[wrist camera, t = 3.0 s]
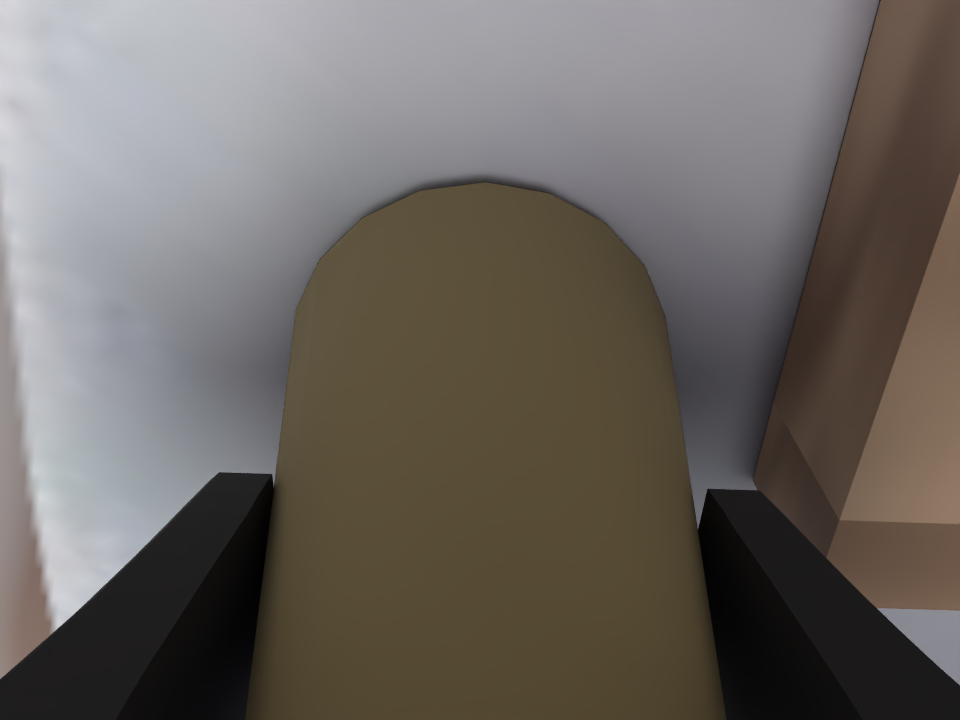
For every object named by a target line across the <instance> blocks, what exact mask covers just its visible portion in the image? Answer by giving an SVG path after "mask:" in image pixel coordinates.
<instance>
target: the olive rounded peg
mask: <svg viewBox="0 0 960 720" xmlns="http://www.w3.org/2000/svg"><path fill="white" fill-rule="evenodd" d="M245 720H726V713H725V707H724V700H723V694H722V687H721V680H720V674H719V667H718V660H717V654H716V647H715V641H714V634H713V627H712V621H711V614H710V608H709V601H708V594H707V588H706V581H705V575H704V568H703V561H702V555H701V548H700V541H699V535H698V528H697V522H696V515H695V508H694V502H693V495H692V489H691V482H690V475H689V469H688V462H687V456H686V449H685V442H684V436H683V429H682V422H681V416H680V409H679V403H678V396H677V389H676V383H675V376H674V370H673V363H672V356H671V350H670V343H669V336H668V330H667V323H666V317H665V314H664V311H663V309H662V306H661V304H660V302H659V299H658V297H657V294H656V292H655V289H654V287H653V284H652V282H651V279H650V277H649V274H648V272H647V269H646V267H645V265H644V264H643V263H642V262H641V261H640V260H639V259H638V258H637V257H636V256H635V255H634V253H633V252H632V251H631V250H630V249H629V248H628V247H627V246H626V245H625V244H624V243H623V242H622V240H621V239H620V238H619V237H618V236H617V235H616V234H615V233H614V232H613V231H612V230H611V229H610V227H609V226H608V225H607V224H606V223H604V222H602V221H601V220H599V219H597V218H595V217H593V216H591V215H589V214H587V213H586V212H584V211H582V210H580V209H578V208H576V207H574V206H572V205H571V204H569V203H567V202H565V201H563V200H561V199H559V198H557V197H556V196H554V195H552V194H549V193H544V192H538V191H532V190H527V189H521V188H515V187H510V186H504V185H498V184H493V183H487V182H483V183H476V184H468V185H460V186H453V187H445V188H437V189H430V190H422V191H418V192H416V193H414V194H412V195H410V196H408V197H406V198H403V199H401V200H399V201H397V202H395V203H393V204H391V205H389V206H387V207H384V208H382V209H380V210H378V211H376V212H374V213H372V214H370V215H367V216H365V217H363V218H362V219H361V220H360V221H359V222H358V223H357V224H356V225H355V226H354V227H352V228H351V229H350V230H349V231H348V232H347V233H346V234H345V235H344V236H343V237H342V238H341V239H340V240H339V241H338V242H337V243H336V244H335V245H334V246H333V247H332V248H331V249H330V250H329V251H328V252H327V253H326V254H325V255H324V256H323V257H322V258H321V259H320V260H319V262H318V264H317V266H316V268H315V270H314V272H313V275H312V277H311V279H310V281H309V283H308V285H307V287H306V289H305V291H304V293H303V295H302V298H301V300H300V302H299V304H298V306H297V308H296V314H295V322H294V330H293V338H292V346H291V354H290V362H289V370H288V378H287V386H286V394H285V402H284V410H283V419H282V427H281V435H280V443H279V451H278V459H277V467H276V475H275V483H274V491H273V499H272V507H271V515H270V523H269V531H268V539H267V547H266V555H265V563H264V571H263V579H262V587H261V595H260V604H259V612H258V620H257V628H256V636H255V644H254V652H253V660H252V668H251V676H250V684H249V692H248V700H247V708H246V716H245Z"/></svg>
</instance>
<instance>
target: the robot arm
mask: <svg viewBox="0 0 960 720" xmlns="http://www.w3.org/2000/svg"><path fill="white" fill-rule="evenodd" d="M273 491H274V486H273V478H272V474H252V473H222V472H219V473H218V474H217V475H216V476H215V477H213V478H212V479H211V480H210V481H209V482H208V483H207V484H206V485H205V486H204V487H203V488H202V489H201V490H200V491H199V492H198V493H197V494H196V495H195V496H194V497H193V498H192V499H191V500H190V501H189V502H188V503H187V504H186V505H185V506H184V507H183V508H182V509H181V510H180V511H179V512H178V513H177V514H176V515H175V516H174V517H173V518H172V519H171V521H170V522H169V523H168V524H167V525H166V526H165V527H164V528H163V529H162V530H161V531H160V532H159V533H158V534H157V535H156V536H155V537H154V538H153V539H152V540H151V541H150V542H149V543H148V544H147V545H146V546H145V547H144V548H143V549H142V550H141V551H140V552H139V553H138V554H137V555H136V556H135V557H134V558H133V559H132V560H131V561H129V562H128V563H127V564H126V565H125V566H124V567H123V568H122V569H121V570H120V571H119V572H118V573H117V574H116V575H115V576H114V577H113V578H112V579H111V580H110V581H109V582H108V583H107V584H105V585H104V586H103V587H102V588H101V589H100V590H99V591H98V592H97V593H96V594H95V595H94V596H93V597H92V598H91V599H90V600H89V601H88V602H87V603H86V604H85V605H83V606H82V607H81V608H80V609H79V610H78V611H77V612H76V613H75V614H74V615H73V616H72V617H70V618H69V619H68V620H67V621H66V622H65V623H64V624H63V625H61V626H60V627H59V628H58V629H57V630H56V631H55V632H54V633H52V634H51V635H50V636H49V637H48V638H47V639H46V640H45V641H43V642H42V643H41V644H40V645H39V646H38V647H36V648H35V649H34V650H33V651H32V652H31V653H30V654H28V655H27V656H26V657H25V658H24V659H23V660H22V661H21V662H19V663H18V664H17V665H16V666H15V667H14V668H13V669H11V670H10V671H9V672H8V673H7V674H6V675H5V676H3V677H2V678H1V679H0V720H245V716H246V708H247V700H248V692H249V684H250V676H251V668H252V660H253V652H254V644H255V636H256V628H257V620H258V612H259V604H260V595H261V587H262V579H263V571H264V563H265V555H266V547H267V539H268V531H269V523H270V515H271V507H272V499H273ZM698 535H699V541H700V548H701V555H702V561H703V568H704V575H705V581H706V588H707V594H708V601H709V608H710V614H711V621H712V627H713V634H714V641H715V647H716V654H717V660H718V667H719V674H720V680H721V687H722V694H723V700H724V707H725V713H726V720H960V685H959V684H957V683H956V682H955V681H954V680H953V679H952V678H951V677H950V676H948V675H947V674H946V673H945V672H944V671H943V670H942V669H940V668H939V667H938V666H937V665H936V664H935V663H934V662H933V661H932V660H931V659H930V658H928V657H927V656H926V655H925V654H924V653H923V652H922V651H921V650H920V649H919V648H918V647H917V646H916V645H914V644H913V643H912V642H911V641H910V640H909V639H908V638H907V637H906V636H905V635H904V634H903V633H902V632H901V631H900V630H899V629H898V628H896V627H895V626H894V625H893V624H892V623H891V622H890V621H889V620H888V619H887V618H886V617H885V616H884V615H883V614H882V613H881V612H880V611H879V610H878V609H877V608H876V607H875V606H874V605H873V604H872V603H871V602H870V601H869V600H868V599H867V598H866V597H865V596H864V595H863V594H862V593H861V592H860V591H859V590H858V589H857V588H856V587H855V586H854V585H853V584H852V583H851V582H850V581H849V580H848V579H847V578H845V577H844V575H843V574H842V573H841V572H840V571H839V570H838V569H837V568H836V567H835V566H834V565H833V564H832V563H831V562H830V561H829V560H828V559H827V558H826V557H825V556H824V555H823V554H822V553H821V552H820V551H819V550H818V549H817V548H816V547H815V546H814V545H813V544H812V543H811V542H810V541H809V540H808V539H807V538H806V537H805V536H804V535H803V534H802V533H801V532H800V531H799V529H798V528H797V527H796V526H795V525H794V524H793V523H792V522H791V521H790V520H789V519H788V518H787V517H786V516H785V515H784V514H783V513H782V512H781V511H780V510H779V509H778V508H777V507H776V506H775V505H774V504H773V503H772V502H771V501H770V500H769V499H768V498H767V497H766V496H765V495H764V494H763V493H762V492H761V491H755V490H725V489H707V494H706V498H705V502H704V507H703V511H702V515H701V520H700V524H699V528H698Z"/></svg>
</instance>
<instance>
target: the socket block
mask: <svg viewBox="0 0 960 720" xmlns="http://www.w3.org/2000/svg"><path fill="white" fill-rule="evenodd" d="M753 482H754V484H755V486H756V488H757V491H761V492H762V493H763V494H764V495H765V496H766V497H767V498H768V499H769V500H770V501H771V502H772V503H773V504H774V505H775V506H776V507H777V508H778V509H779V510H780V511H781V512H782V513H783V514H784V515H785V516H786V517H787V518H788V519H789V520H790V521H791V522H792V523H793V524H794V525H795V526H796V527H797V528H798V529H799V531H800V532H801V533H802V534H803V535H804V536H805V537H806V538H807V539H808V540H809V541H810V542H811V543H812V544H813V545H814V546H815V547H816V548H817V549H818V550H819V551H820V552H821V553H822V554H823V555H824V556H825V557H826V558H827V559H828V560H829V561H830V562H831V563H832V564H833V565H834V566H835V567H836V568H837V569H838V570H839V571H840V572H841V573H842V574H843V575H844V577H845V578H847V579H848V580H849V581H850V582H851V583H852V584H853V585H854V586H855V587H856V588H857V589H858V590H859V591H860V592H861V593H862V594H863V595H864V596H865V597H866V598H867V599H868V600H869V601H870V602H871V603H872V604H873V605H874V606H875V607H876V608H897V609H929V610H960V0H881V1H880V5H879V8H878V12H877V16H876V20H875V23H874V27H873V31H872V35H871V38H870V42H869V46H868V50H867V53H866V57H865V61H864V65H863V68H862V72H861V76H860V80H859V83H858V87H857V91H856V95H855V98H854V102H853V106H852V110H851V113H850V117H849V121H848V125H847V128H846V132H845V136H844V140H843V143H842V147H841V151H840V155H839V158H838V162H837V166H836V170H835V173H834V177H833V181H832V185H831V188H830V192H829V196H828V200H827V203H826V207H825V211H824V215H823V218H822V222H821V226H820V230H819V233H818V237H817V241H816V245H815V248H814V252H813V256H812V260H811V263H810V267H809V271H808V275H807V278H806V282H805V286H804V290H803V293H802V297H801V301H800V305H799V308H798V312H797V316H796V320H795V323H794V327H793V331H792V335H791V338H790V342H789V346H788V350H787V353H786V357H785V361H784V365H783V368H782V372H781V376H780V380H779V383H778V387H777V391H776V395H775V398H774V402H773V406H772V410H771V413H770V417H769V421H768V425H767V428H766V432H765V436H764V440H763V443H762V447H761V451H760V455H759V458H758V462H757V466H756V470H755V473H754V477H753Z"/></svg>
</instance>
